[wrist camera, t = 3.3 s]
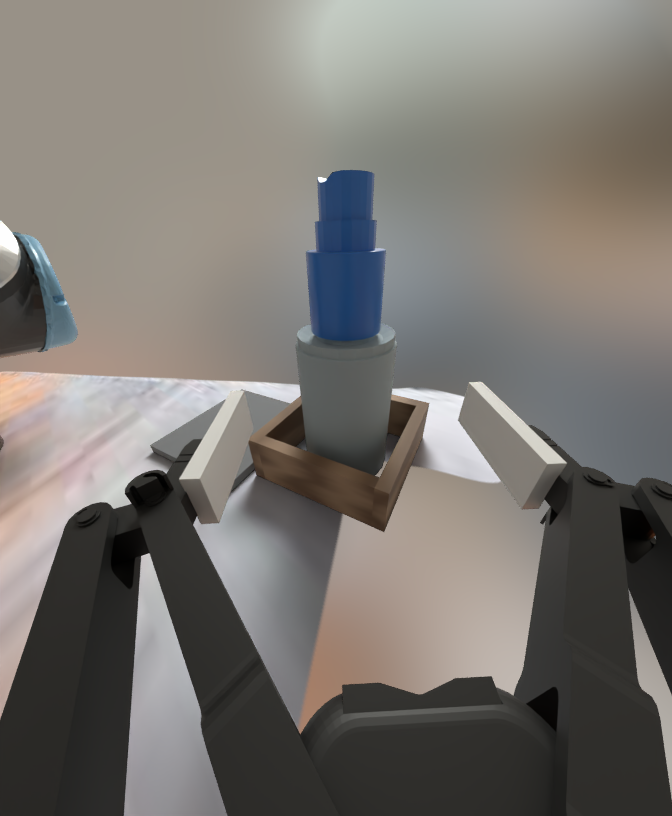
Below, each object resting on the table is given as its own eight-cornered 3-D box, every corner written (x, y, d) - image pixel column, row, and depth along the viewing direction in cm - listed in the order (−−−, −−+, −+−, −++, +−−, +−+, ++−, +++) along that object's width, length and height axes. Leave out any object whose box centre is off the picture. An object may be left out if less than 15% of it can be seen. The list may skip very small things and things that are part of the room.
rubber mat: (153, 451, 32) (150, 445, 32) (242, 394, 43) (241, 389, 43) (231, 490, 27) (229, 484, 27) (310, 415, 38) (310, 409, 38)
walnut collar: (256, 475, 29) (247, 439, 26) (323, 408, 39) (321, 378, 37) (384, 531, 23) (389, 493, 20) (422, 436, 34) (429, 403, 31)
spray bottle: (359, 423, 36) (367, 185, 23) (400, 466, 30) (448, 164, 16) (296, 444, 33) (261, 180, 19) (327, 497, 26) (308, 150, 13)
